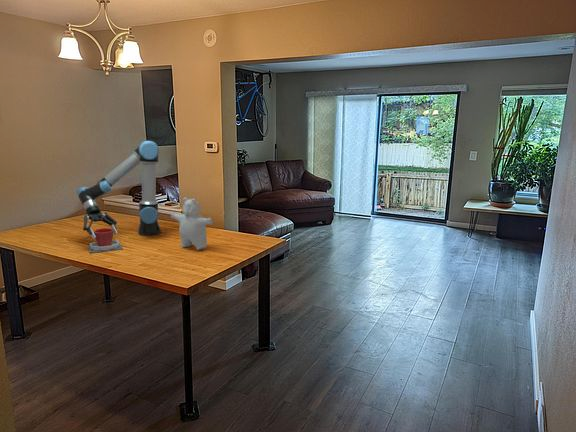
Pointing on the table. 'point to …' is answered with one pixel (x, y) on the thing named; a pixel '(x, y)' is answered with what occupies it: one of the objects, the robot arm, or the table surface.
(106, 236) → the flower pot
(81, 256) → the table surface
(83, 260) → the table surface
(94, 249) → the grey octagonal tray
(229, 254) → the table surface
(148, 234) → the robot arm
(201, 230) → the bear
